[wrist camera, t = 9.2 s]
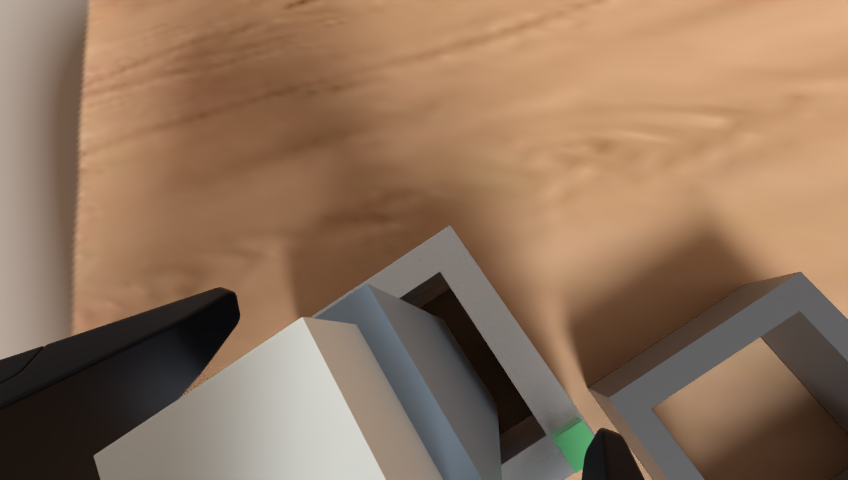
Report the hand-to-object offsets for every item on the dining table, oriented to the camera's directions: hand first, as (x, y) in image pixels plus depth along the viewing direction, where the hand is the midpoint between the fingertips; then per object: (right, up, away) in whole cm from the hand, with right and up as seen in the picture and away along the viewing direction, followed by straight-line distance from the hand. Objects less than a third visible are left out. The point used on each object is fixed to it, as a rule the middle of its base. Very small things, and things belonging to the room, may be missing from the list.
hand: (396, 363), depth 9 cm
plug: (+1, -3, +7) cm, 8 cm away
